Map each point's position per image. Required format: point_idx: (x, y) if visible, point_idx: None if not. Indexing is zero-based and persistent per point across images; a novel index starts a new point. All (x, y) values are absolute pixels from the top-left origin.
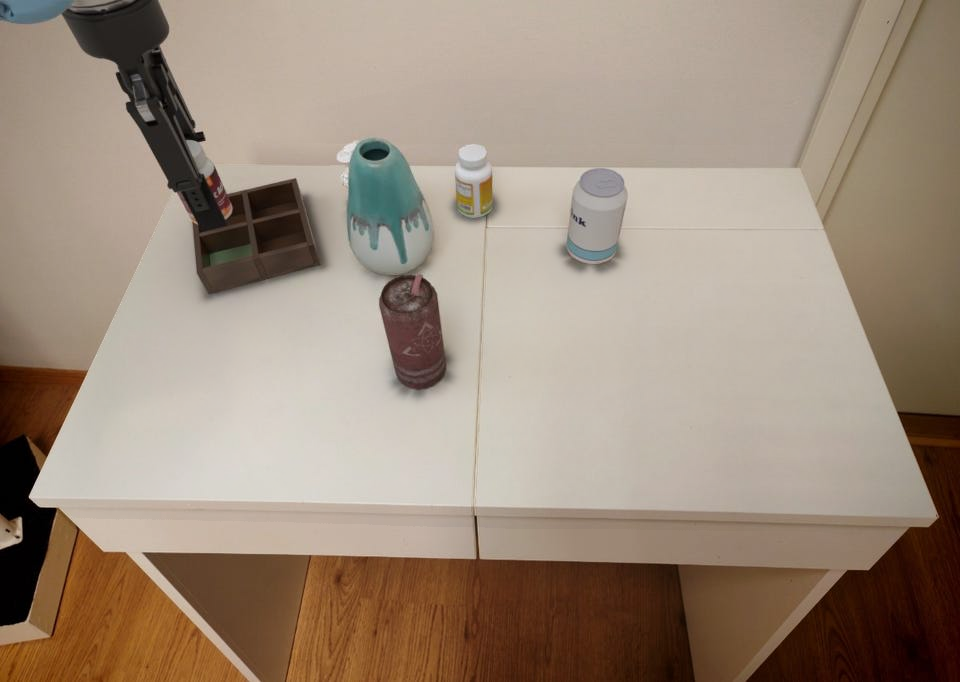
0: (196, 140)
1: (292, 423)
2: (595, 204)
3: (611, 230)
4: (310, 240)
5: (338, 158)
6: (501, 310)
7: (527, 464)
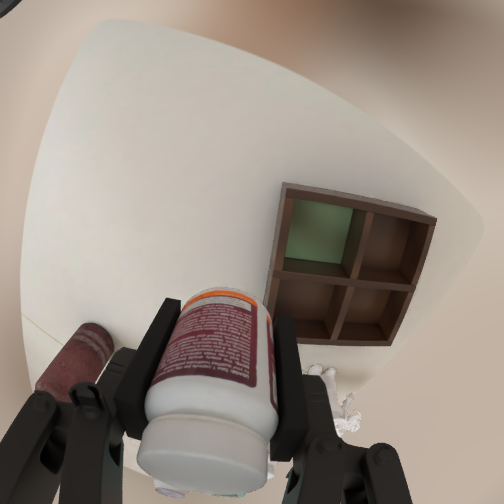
0: (289, 472)
1: (69, 231)
2: (156, 483)
3: None
4: None
5: (337, 420)
6: None
7: (38, 346)
